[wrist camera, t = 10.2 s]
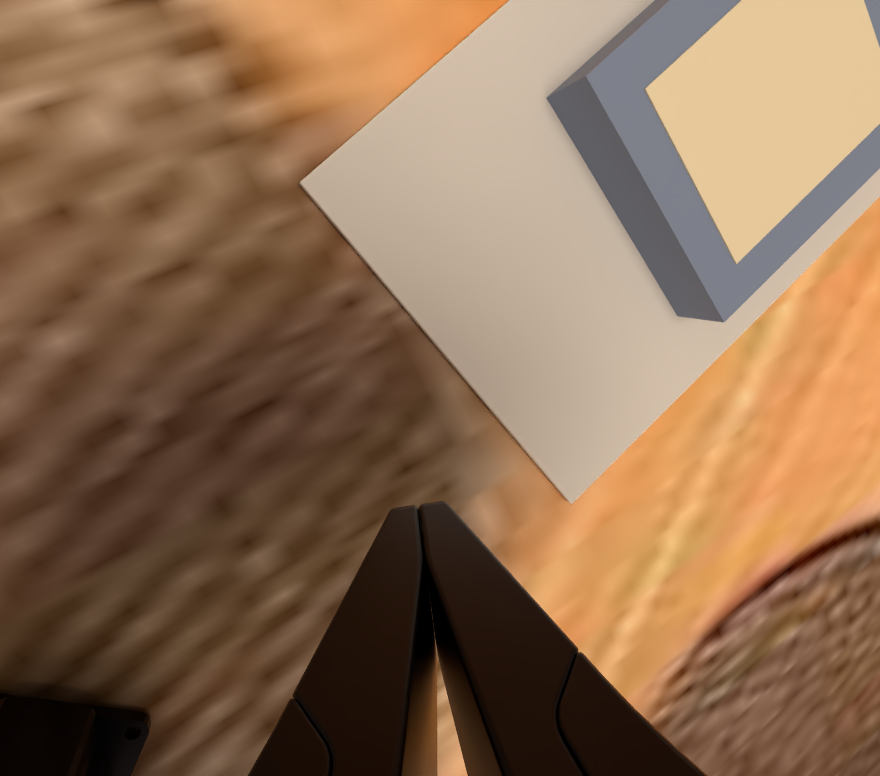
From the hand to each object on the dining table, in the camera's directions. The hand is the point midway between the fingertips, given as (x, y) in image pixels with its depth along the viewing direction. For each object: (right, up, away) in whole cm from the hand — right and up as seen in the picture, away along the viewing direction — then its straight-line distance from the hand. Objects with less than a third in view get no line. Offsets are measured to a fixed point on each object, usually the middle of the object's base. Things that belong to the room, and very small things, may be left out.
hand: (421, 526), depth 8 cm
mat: (+9, +11, +13) cm, 19 cm away
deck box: (+7, +8, +11) cm, 16 cm away
